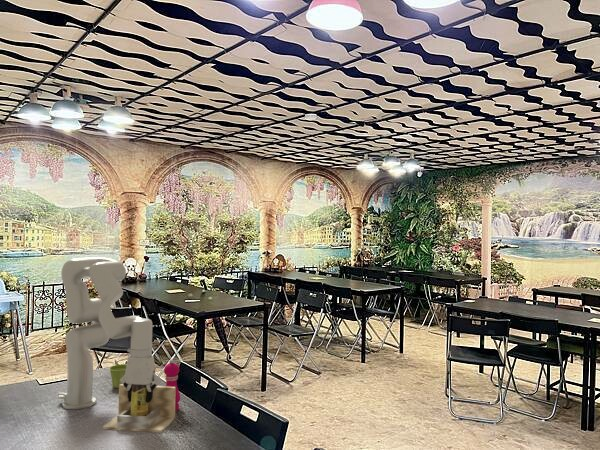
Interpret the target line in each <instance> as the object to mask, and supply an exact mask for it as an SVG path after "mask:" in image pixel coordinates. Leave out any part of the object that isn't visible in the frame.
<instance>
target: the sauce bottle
mask: <svg viewBox="0 0 600 450" xmlns="http://www.w3.org/2000/svg"><path fill="white" fill-rule="evenodd" d="M147 392H148V389H147V387H146V385H132V393H131V413H130V414H131V416H147V415H148V404H149V403H147V402H146V393H147Z"/></svg>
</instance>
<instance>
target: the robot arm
mask: <svg viewBox="0 0 600 450" xmlns="http://www.w3.org/2000/svg"><path fill="white" fill-rule="evenodd" d="M60 273H61V280H62V283H63V284H62V285H63V287H64V289H65V290H64V291H65V300H66V302H65V303H66V312H67V318H68V321H69V322H70V323H71V324H73V325H74V324H86V323H91V324H90V325H82V326H77V327H73V328H72V329H70V330H68V332H67V333H66V334H65V338H64V339H65V340H64V341H65V346H66V347H65V348H66V353H67V373H66V374H67V377H66V378H67V380H66V382H67V383H66V392H59V394H58V400H63V402H62V408H63V409H66V410H81V409H87V408H89V407H92V406H94V405H95V404H96V403H97V398H96V397H95V396H93V385H94V384H93V382H94V380H93V379H94V377H93V376H94V360H93V356H92V354H91V353H90V352H89V350H90V349H94V348H98V347H101V346H104V345H106V344H107V343H108V342H109V340H110V339H112V340H118V339H119V340H120V339H123V338H128V337H130V348H127V353H129V355H128V357H127V361H126V371H125V375H124V376H123V377H122V378H121V379H120V381H121V382H122V383H123V385H124V386H125V387H126V390H127V391H128V402H130V401H131V393H132V385H146V387H147V389H148V392H147V393H146V402H147V403H149V402H150V401H151V400H152V398H153V389H154V388H155V387H156V386H159V384H160V383H162V380H161V378H160V377H159V376H158V375H157V374H156V365H155V364H156V363H155V358H154V355H153V354H152V353H153V351H152V349H153V321H152V319H150V318H147V317H146V318H144V317H142V316H141V317H140V316H138V315H130V316H123V317H122V316H121V317H115V316H114V313H113V312H112V308H111V307H112V304H114V303H116V302H118V300H120V299H121V298H122V296H123V294H124V289H123V288H122V286H121V284H120V282H121V281H123V280H124V279H125V278H126V274H127V270H126V267H125V265H124V264H123V263H122V262H120V261H119V260H114V259H112V258H107V257H101V256H100V257H99V256H98V257H76V258H71V259H69V260H67V261H66V262H65V263H64V264H63V266H62V268H61V272H60ZM83 279H90V280H91V282H92V284H93V286H94V288H95V290H96V292H97V293H98V296H99V298H97V297H96V298H90V295H89V288H88V286H87V285H86V283H85V282H84V281H83ZM153 382H155V383H153Z"/></svg>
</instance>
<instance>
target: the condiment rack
mask: <svg viewBox="0 0 600 450" xmlns="http://www.w3.org/2000/svg"><path fill="white" fill-rule="evenodd" d="M175 394H176V387H170V386H166V385H157V386H156V387H155V388H154V389H153V398H152V400H151V401H150V402H149V404H148V415H147V416H131V414H130V413H131V401H130V402H128V391H127V390H126V387H125V386H124V385H123V384H120V385H119V388H118V414H117V415H116V416H115V417H113V418H112V419H111V420H109V421H108V422H107V423H105V425H103V426H102V430H114V431H128V432H129V431H130V432H144V433H145V432H147V433H158V434H159V433H163V432H164V431H165V429H166V428H168V426H170V424H171V423H173V421H174V420H175V419H176V411H175Z"/></svg>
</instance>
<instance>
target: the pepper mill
mask: <svg viewBox="0 0 600 450" xmlns="http://www.w3.org/2000/svg"><path fill="white" fill-rule="evenodd" d="M179 372H180V366H179V365H178V363H176V362H175V360H174V359H170V360H169V363H167V364H166V365H165V366H164V369H163V373H164V374H165V376H164V377H165V379H164V380H165V381H166V382H165V386H170V387H176V394H175V412H177V411H178V410H179V409H180V404H179V402H180V401H181V393H180V391H179V388H178V379H179V375H178V374H179Z"/></svg>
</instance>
